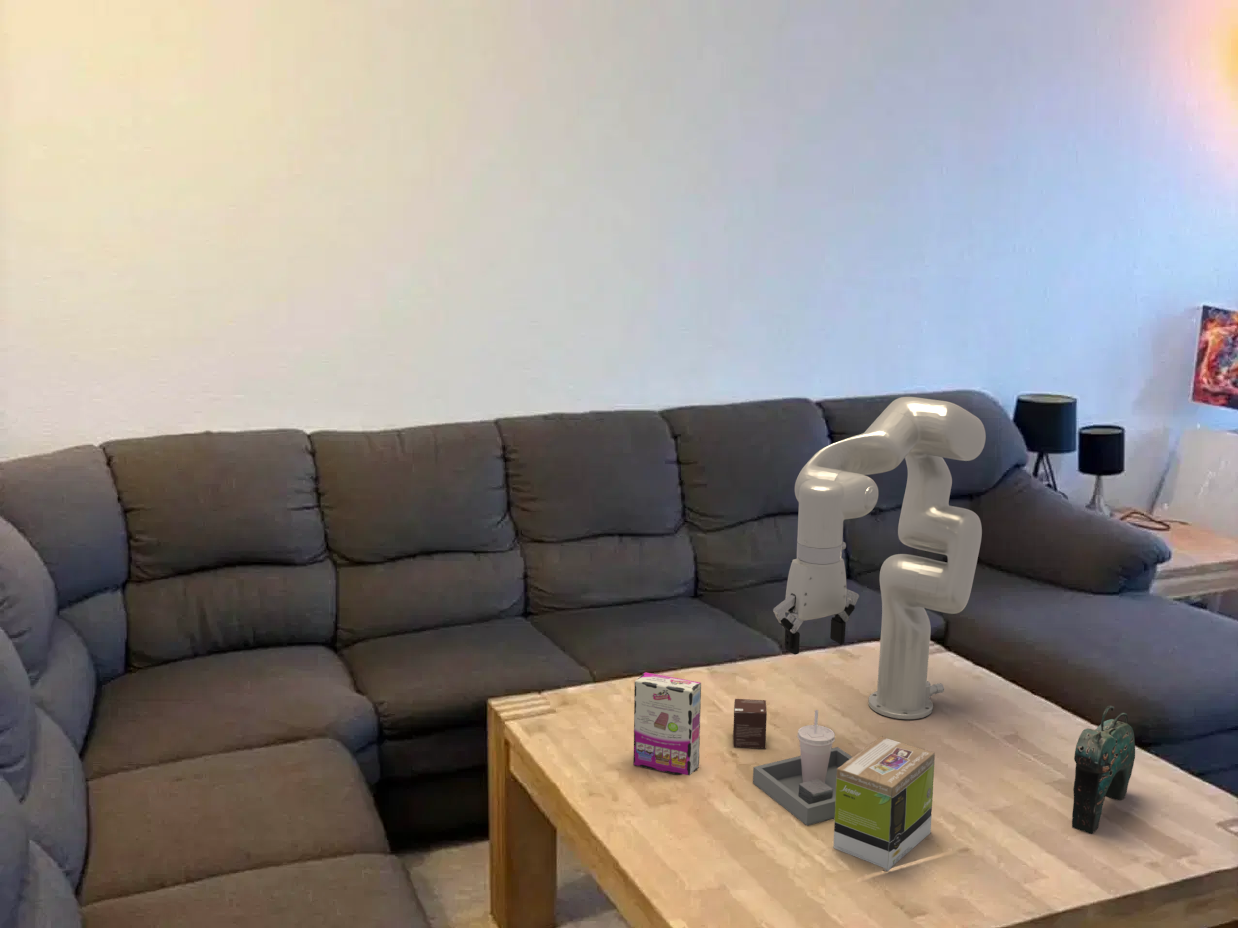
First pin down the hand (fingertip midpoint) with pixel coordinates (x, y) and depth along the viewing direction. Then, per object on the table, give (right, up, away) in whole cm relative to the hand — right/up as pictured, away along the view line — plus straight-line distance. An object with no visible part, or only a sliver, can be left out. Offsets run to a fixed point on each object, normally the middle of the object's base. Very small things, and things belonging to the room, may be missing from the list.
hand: (814, 646), depth 215 cm
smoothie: (0, -24, +2) cm, 24 cm away
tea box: (+8, -29, -16) cm, 34 cm away
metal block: (-1, -26, -7) cm, 27 cm away
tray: (+1, -25, -1) cm, 25 cm away
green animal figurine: (+47, -27, -5) cm, 55 cm away
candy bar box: (-25, -23, +9) cm, 35 cm away
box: (-9, -21, +19) cm, 30 cm away
